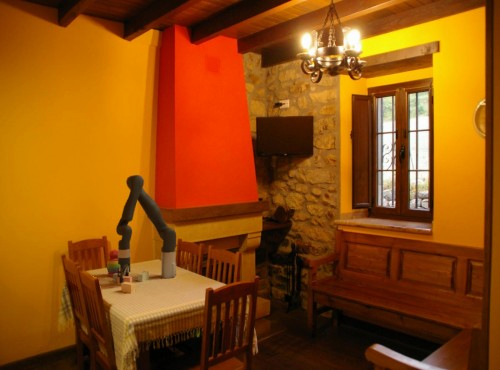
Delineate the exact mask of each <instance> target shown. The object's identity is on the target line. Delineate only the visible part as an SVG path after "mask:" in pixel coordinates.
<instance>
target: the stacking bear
mask: <svg viewBox="0 0 500 370" xmlns="http://www.w3.org/2000/svg"><path fill="white" fill-rule="evenodd" d="M108 257H109V258H108V260H107V264H106V270H107V277H108V278H113V274H115V273H118V268H120V264H118V249H115V248H114V249H112V250H110V251H109V253H108Z"/></svg>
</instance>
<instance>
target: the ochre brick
mask: <svg viewBox="0 0 500 370" xmlns="http://www.w3.org/2000/svg"><path fill="white" fill-rule="evenodd" d="M136 286H137V285H136V283H134V282H132V283H130V282H123V283H121V285H120V289H121V291H120V292H124V293H128V294H133V293H135V292H136Z"/></svg>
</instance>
